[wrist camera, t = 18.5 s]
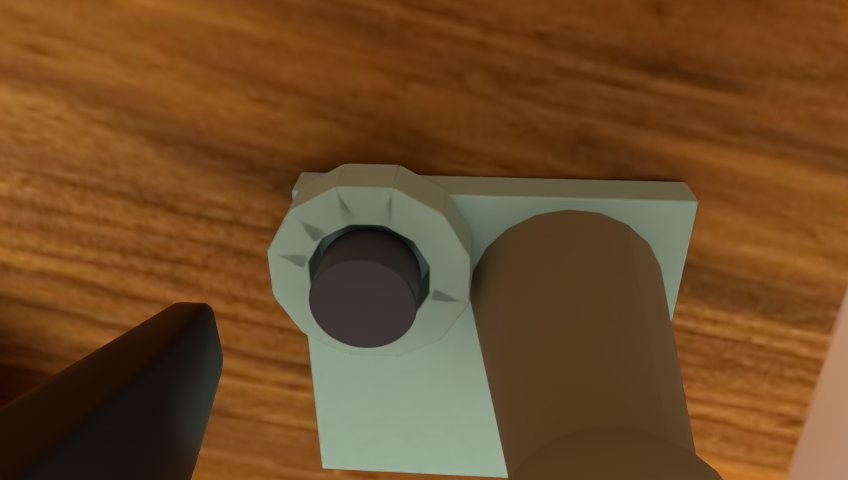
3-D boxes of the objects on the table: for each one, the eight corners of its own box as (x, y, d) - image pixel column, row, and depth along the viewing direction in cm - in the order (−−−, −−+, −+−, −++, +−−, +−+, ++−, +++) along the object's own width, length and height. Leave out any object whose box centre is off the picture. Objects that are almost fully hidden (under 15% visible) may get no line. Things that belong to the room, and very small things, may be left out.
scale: (692, 152, 20) (724, 196, 18) (628, 456, 27) (644, 521, 24) (284, 142, 21) (257, 184, 18) (317, 441, 28) (301, 503, 25)
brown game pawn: (541, 394, 24) (586, 760, 14) (430, 279, 22) (396, 619, 12) (699, 308, 21) (877, 674, 12) (593, 171, 19) (707, 483, 10)
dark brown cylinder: (421, 229, 19) (416, 261, 18) (421, 314, 21) (417, 351, 19) (316, 226, 19) (303, 258, 18) (324, 310, 21) (313, 347, 19)
